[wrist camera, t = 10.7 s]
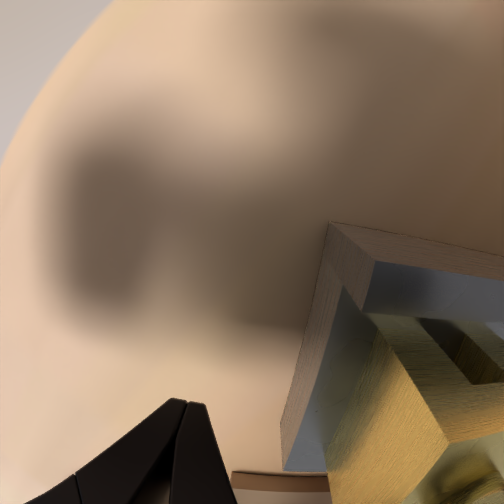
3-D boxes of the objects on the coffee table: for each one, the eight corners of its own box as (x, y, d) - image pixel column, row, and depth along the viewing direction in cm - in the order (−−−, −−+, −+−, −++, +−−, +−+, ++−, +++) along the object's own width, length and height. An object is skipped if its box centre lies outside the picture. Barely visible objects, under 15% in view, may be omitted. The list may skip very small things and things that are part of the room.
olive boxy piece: (324, 455, 9) (345, 586, 4) (377, 327, 7) (473, 488, 2) (433, 447, 9) (479, 545, 4) (496, 334, 7) (592, 428, 2)
